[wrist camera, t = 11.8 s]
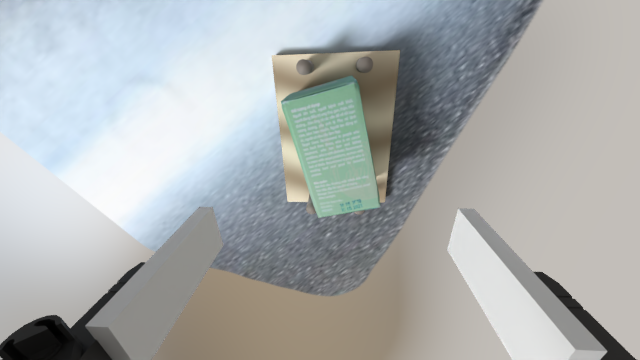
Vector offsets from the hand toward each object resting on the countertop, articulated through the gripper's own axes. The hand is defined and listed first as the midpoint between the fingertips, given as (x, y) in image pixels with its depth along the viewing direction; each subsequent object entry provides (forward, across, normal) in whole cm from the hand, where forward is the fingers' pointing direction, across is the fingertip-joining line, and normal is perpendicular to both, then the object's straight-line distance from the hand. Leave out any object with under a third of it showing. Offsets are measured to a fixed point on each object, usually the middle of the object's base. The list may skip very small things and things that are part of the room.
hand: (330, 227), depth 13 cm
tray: (+20, 0, 0) cm, 20 cm away
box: (+19, 0, 0) cm, 19 cm away
